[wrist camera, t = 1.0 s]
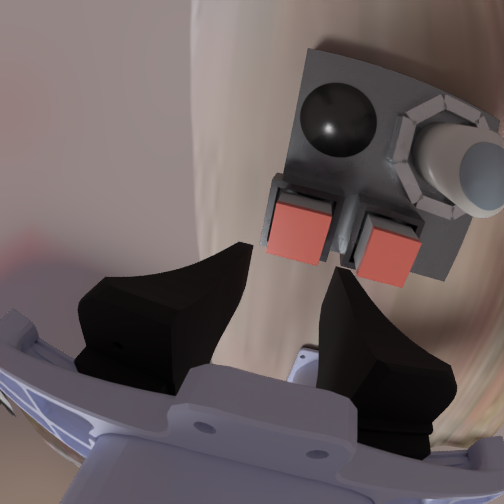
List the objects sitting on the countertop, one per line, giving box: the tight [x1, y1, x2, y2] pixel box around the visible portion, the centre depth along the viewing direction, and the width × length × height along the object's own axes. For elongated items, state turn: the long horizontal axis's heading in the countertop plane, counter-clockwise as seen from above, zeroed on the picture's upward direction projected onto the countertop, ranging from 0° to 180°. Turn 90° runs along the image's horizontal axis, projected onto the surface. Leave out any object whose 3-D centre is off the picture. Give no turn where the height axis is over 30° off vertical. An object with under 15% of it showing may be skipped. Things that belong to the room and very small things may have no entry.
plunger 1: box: [266, 191, 332, 266], centre depth 17 cm, size 3×3×2 cm
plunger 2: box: [354, 214, 422, 288], centre depth 16 cm, size 3×3×2 cm
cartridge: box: [413, 122, 504, 218], centre depth 13 cm, size 4×4×7 cm
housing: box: [259, 48, 500, 281], centre depth 17 cm, size 13×14×4 cm
